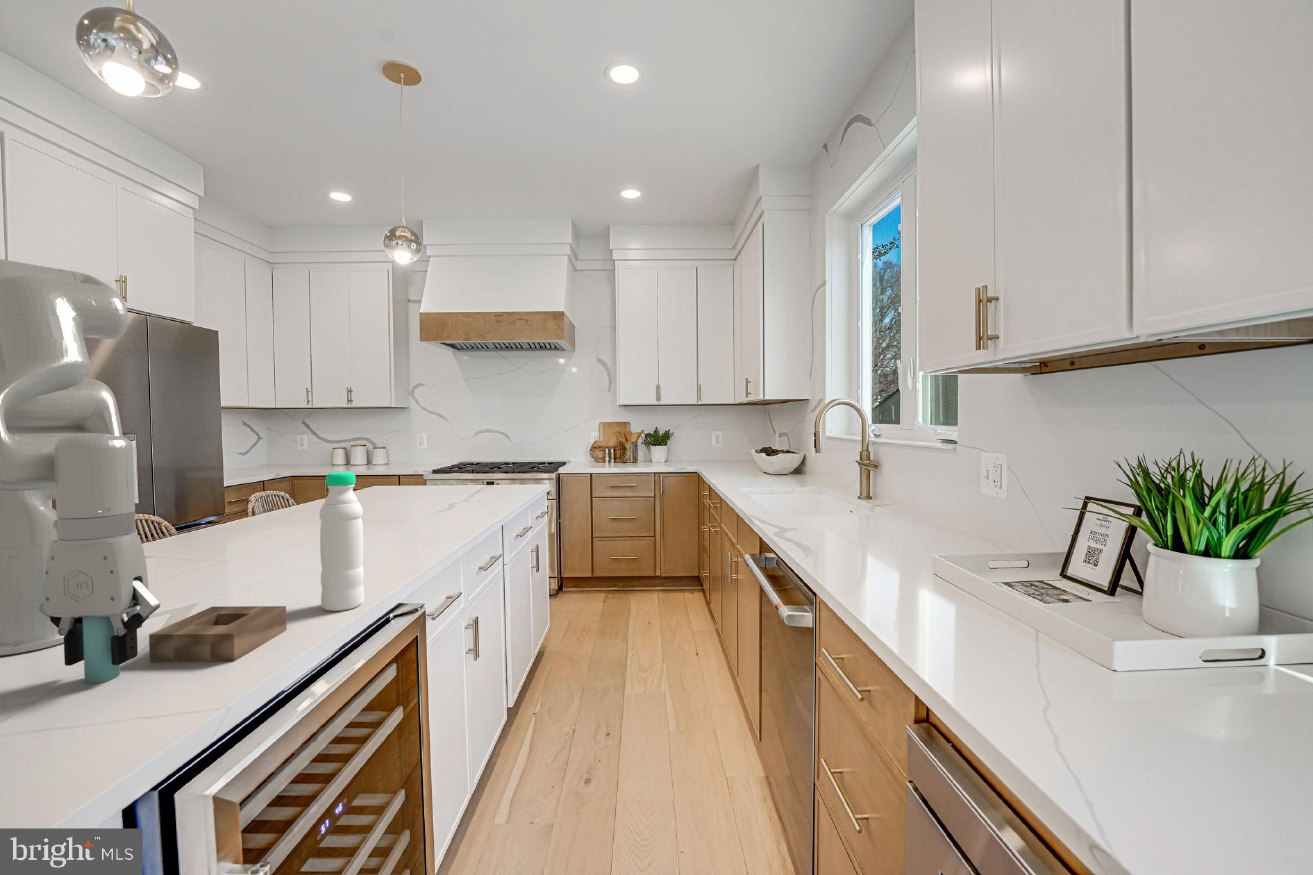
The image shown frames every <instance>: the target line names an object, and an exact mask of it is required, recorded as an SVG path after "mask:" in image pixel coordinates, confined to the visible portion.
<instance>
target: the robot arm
mask: <svg viewBox="0 0 1313 875" xmlns="http://www.w3.org/2000/svg"><path fill="white" fill-rule="evenodd" d="M128 313H129V312H128V309H127V305H126V303H125V301H124V299H123V298H122V296H121V295H120V294H119V293H118V291H116V290H115V289H114V288H113V287H112V286H110V285H109V284H107V283H105V282H103V281H102V280H100V279H98V278H97V277H94V276H92V275H89V274H88V273H87V274H86V273H85V272H84V273H83V272H78V271H73V270H66V269H61V268H55V267H48V266H45V265H43V266H42V265H38V264H31V263H26V262H19V261H14V260H8V259H3V258H2V259H1V258H0V657H1V656H9V655H14V654H21V653H28V652H32V651H38V650H43V649H46V648H50V647H54V646H57V645H61V644H63V655H64V656H63V657H64V665H65V666H67V667H68V666H73V665H76V664H78V663H81V662H84V645H83V617H109V616H110V619H111V622H112V624H113V627H114V630H115V632H116V635H114V636H111V659H112V664H113V665H122V664H124V663H127V662H128V661H130V660H132V659H135V658H136V657H138V655H139V654H138V653H139V651H138V650H139V648H138V629H141V628H142V627H143V624H144V623H145V622H146V621H147V620H148V619H149V618H150V616H151V615H152V614H154V613H155V612H156V611H157V610H159V608H161V603H160V601H159V600H158V599H157V598H156V596H154V594H152V592H151V591H149V578H148V577H149V576H148V568H147V567H148V566H147V561H146V556H145V550H144V547H143V543H142V540H141V537H140V535H139V534H137V532H136V531H137V530H136V521H137V520H136V500H135V499H136V498H135V497H136V496H135V495H136V494H135V464H134V463H135V462H134V460H135V459H134V446H133V443H132V442H131V440H130V439H129V438H126V436H125V437H124V433H123V429H122V427H123V426H122V422H121V418H120V416H121V415H120V411H119V408H118V407H119V406H118V404H117V399H116V397H115V395H114V392H113V391H112V390H111V388H110V387H109V386H108V385H107V384H106V383H104V382H102V381H100V380H98V379H94V378H89V377H90V376H91V373H92V368H93V367H92V364H91V361H90V357H89V354H88V350H87V347H86V342H85V338H89V339H90V338H91V339H99V340H100V339H101V340H116V339H119V338H121V337H122V336H123V335H124V334H125V333H126V331H127V329H128V325H129V314H128ZM50 500H55V506H56V507H55V508H56V509H54V508H53V507H52V506H50V504H48V501H50ZM138 607H139V609H138ZM124 615H125V616H126V618H127V619H126V620H125V617H124Z"/></svg>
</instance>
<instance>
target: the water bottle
mask: <svg viewBox="0 0 1313 875" xmlns="http://www.w3.org/2000/svg"><path fill="white" fill-rule="evenodd" d="M325 479H326V480H325V483H326V486H327V487H326V488H328V491H329V492H328V494H327V495H326V497H325V499H324V503H323V504H322V505H321V508H320V510H319V519H320V529H319V531H320V532H319V544H320V546H319V548H320V549H319V550H320V554H319V555H320V563H321V573H320V584H321V595H320V600H321V601H320V603H321V604H320V606H321V608H322V609H323V610H325V611H326V612H327V611H328V612H341V611H342V612H343V611H347V610H352V609H355V608H357V607H358V608H359V607H360V606H361V605H362V604H363V603H364V601H365V589H364V576H365V575H364V574H365V572H364V566H363V561H364V527H363V519H362V516H363V513H364V512H363V510H364V509H363V507H362V505H361V503H360V502H359V499H358V497H357V496H356V494H355V493H354V487H355V486H356V485H355V484H356V483H357V482H356V474H355V473H354V472H351V471H350V472H349V471H339V472H330V473H328V474H326V478H325Z"/></svg>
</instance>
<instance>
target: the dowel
mask: <svg viewBox="0 0 1313 875" xmlns="http://www.w3.org/2000/svg"><path fill="white" fill-rule="evenodd" d="M114 635H116V632H115V630H114V627H113V624H112V622H111V619H110V616H109V617H83V645H84V660H83V669H84V670H83V671H84V683H85V684H86V685H92V684H93V685H94V684H100V683H105V682H108V681H111V680H113V679H116V678H118V677H120V675H121V669H120V668H121V667H120V665H121V664H120V665H113V664H112V659H111V636H114Z"/></svg>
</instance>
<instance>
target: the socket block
mask: <svg viewBox="0 0 1313 875" xmlns="http://www.w3.org/2000/svg"><path fill="white" fill-rule="evenodd" d="M286 631H287V606H285V605H282V606H281V605H280V606H279V605H278V606H277V605H273V606H272V605H269V606H268V605H267V606H266V605H263V606H262V605H258V606H255V605H254V606H253V605H252V606H248V605H247V606H240V605H239V606H238V605H237V606H232V605H231V606H230V605H229V606H211V607H209V608H206V609H204V610H202V611H199V612H196V613H195V614H192V615H190V616H188V617H186V618H185V617H184V618H183V619H181V620H178V621H176V622H174V623H172V624H170V625H167V626H165V627H162V628H160V629H158V630H156V631H153V632H151V633H149V634H148V643H149V644H148V646H149V647H148V649H149V662H150V663H151V662H152V663H154V662H155V663H157V662H158V663H166V662H168V663H170V662H175V663H176V662H179V663H180V662H181V663H182V662H184V663H185V662H235V661H237V660H239V659H241V658H242V657H244V656H245V655H248V654H249V653H250V652H252V651H254V650H256V649H257V648H259V647H261V646H263V645H265V643H267V642H269V641H271V640H273V639H275V638H276V637H277V636H279V635H281V634H283V633H285V632H286Z"/></svg>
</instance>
